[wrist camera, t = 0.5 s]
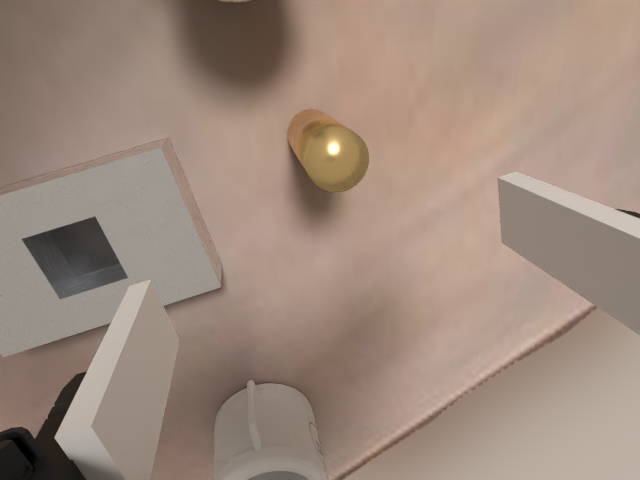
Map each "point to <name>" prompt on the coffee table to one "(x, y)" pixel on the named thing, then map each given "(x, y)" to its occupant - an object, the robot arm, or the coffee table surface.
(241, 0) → the mug
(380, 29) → the coffee table surface
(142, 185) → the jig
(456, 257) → the coffee table surface
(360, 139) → the brass cylinder rod
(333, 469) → the coffee table surface
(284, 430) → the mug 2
